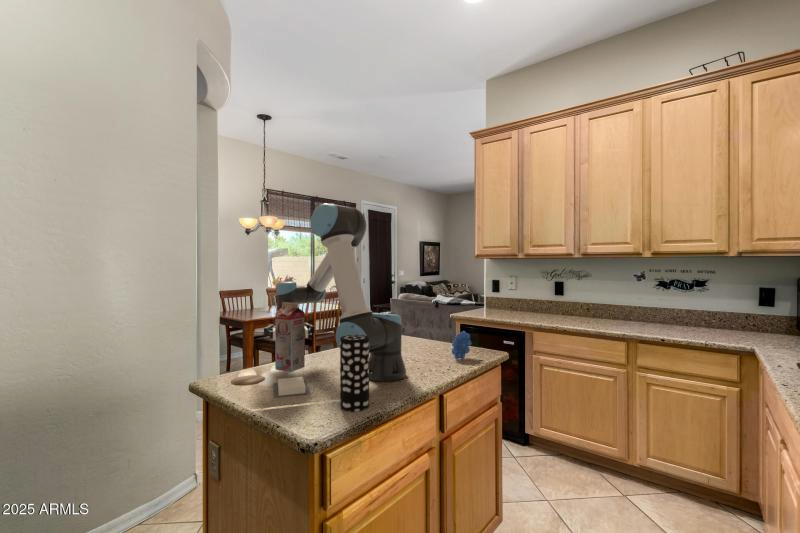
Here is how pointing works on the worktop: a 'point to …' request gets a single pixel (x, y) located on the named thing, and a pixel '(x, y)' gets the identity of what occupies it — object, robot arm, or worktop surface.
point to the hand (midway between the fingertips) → (290, 334)
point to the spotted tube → (354, 372)
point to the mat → (276, 395)
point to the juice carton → (289, 338)
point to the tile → (291, 386)
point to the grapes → (461, 345)
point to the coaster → (248, 380)
